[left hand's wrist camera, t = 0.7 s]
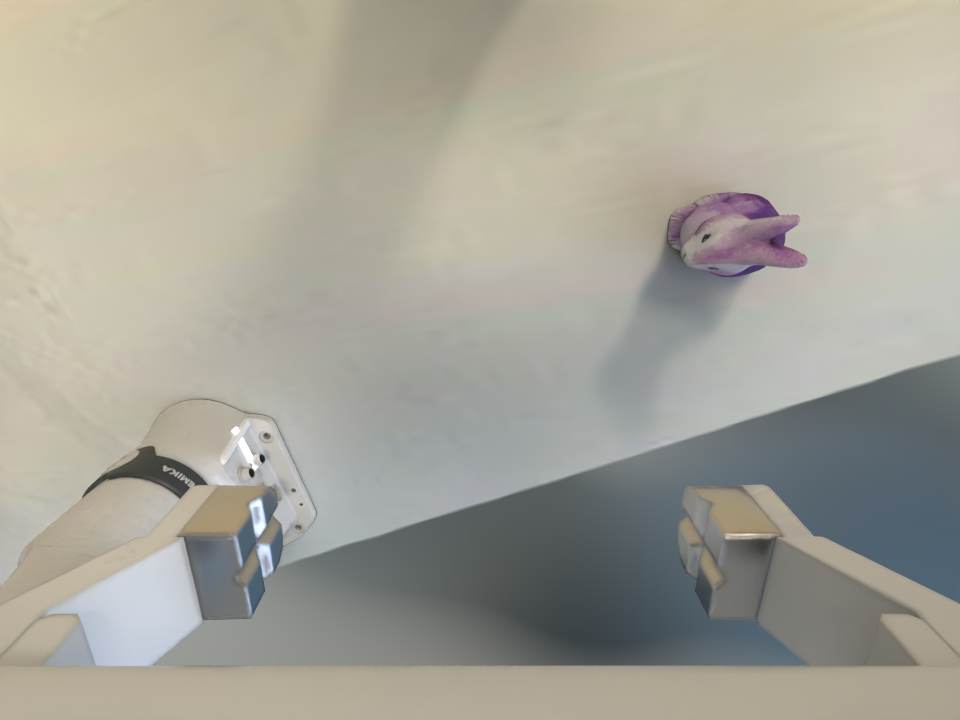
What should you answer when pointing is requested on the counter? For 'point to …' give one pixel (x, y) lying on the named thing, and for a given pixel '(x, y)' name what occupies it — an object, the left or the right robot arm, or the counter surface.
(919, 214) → the counter surface
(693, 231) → the figurine
